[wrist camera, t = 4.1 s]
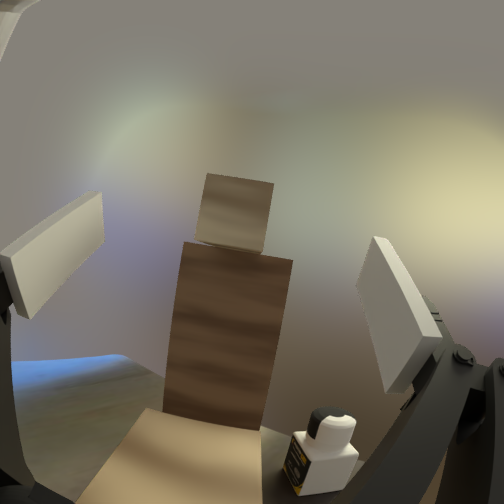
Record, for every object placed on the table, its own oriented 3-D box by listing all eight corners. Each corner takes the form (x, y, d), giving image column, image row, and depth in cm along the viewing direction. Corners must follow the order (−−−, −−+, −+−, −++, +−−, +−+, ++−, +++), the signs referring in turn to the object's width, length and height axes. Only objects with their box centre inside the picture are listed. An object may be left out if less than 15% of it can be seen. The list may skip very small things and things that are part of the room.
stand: (240, 506, 27) (293, 260, 28) (158, 490, 27) (184, 241, 28) (244, 435, 45) (278, 260, 45) (186, 424, 45) (211, 248, 46)
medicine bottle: (282, 467, 36) (300, 401, 37) (325, 463, 38) (346, 400, 38) (297, 497, 29) (321, 427, 30) (344, 490, 31) (371, 423, 31)
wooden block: (262, 251, 18) (274, 183, 18) (194, 239, 18) (206, 173, 18) (258, 256, 44) (262, 228, 44) (230, 251, 44) (235, 223, 44)
